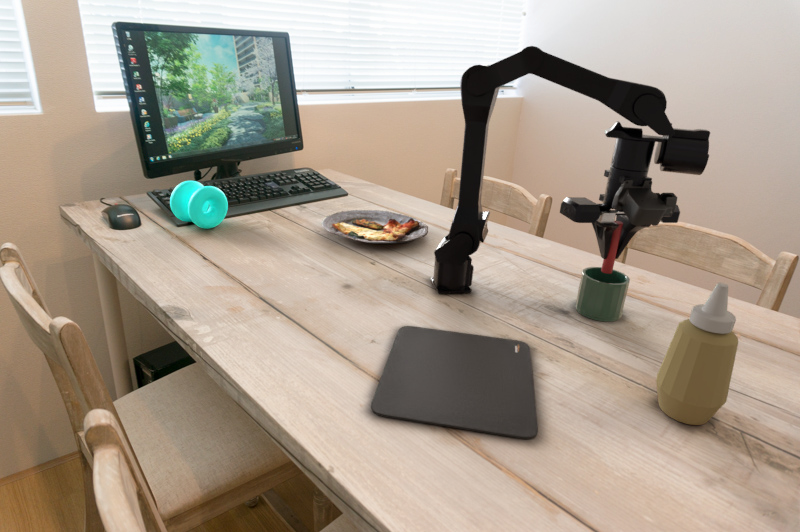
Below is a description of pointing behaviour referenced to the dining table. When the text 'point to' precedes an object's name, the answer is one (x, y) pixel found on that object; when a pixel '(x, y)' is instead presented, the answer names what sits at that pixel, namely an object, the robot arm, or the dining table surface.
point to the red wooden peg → (612, 250)
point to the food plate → (375, 226)
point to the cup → (602, 294)
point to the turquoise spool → (199, 204)
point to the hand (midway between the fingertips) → (609, 258)
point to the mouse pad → (459, 382)
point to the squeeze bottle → (699, 362)
